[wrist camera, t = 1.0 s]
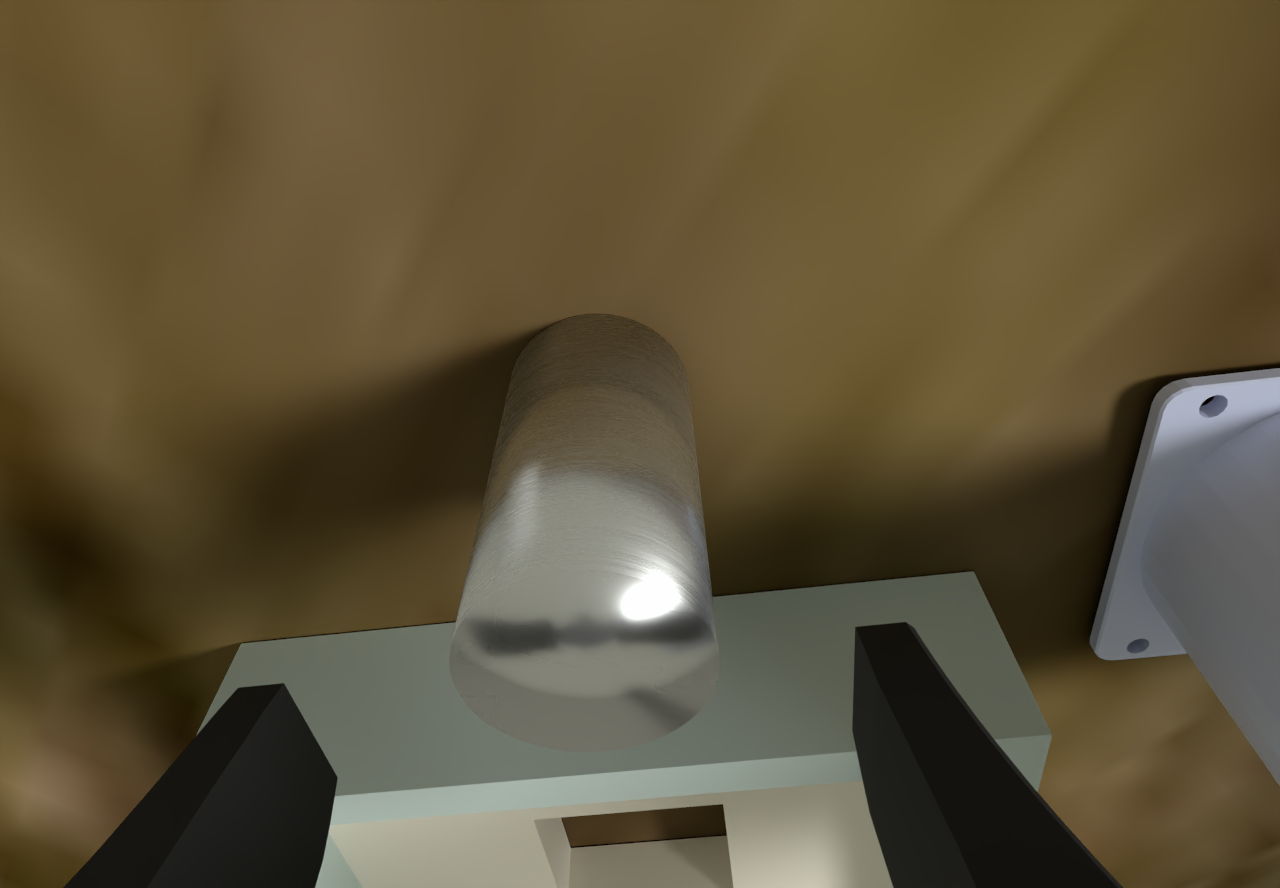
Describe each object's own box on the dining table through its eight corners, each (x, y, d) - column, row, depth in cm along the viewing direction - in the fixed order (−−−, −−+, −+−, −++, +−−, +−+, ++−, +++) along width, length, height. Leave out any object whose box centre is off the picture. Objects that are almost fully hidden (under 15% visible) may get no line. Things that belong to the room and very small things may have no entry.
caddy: (973, 570, 20) (1052, 734, 16) (927, 907, 29) (970, 1060, 25) (241, 643, 21) (158, 811, 17) (418, 944, 30) (389, 1096, 26)
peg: (679, 302, 16) (708, 558, 10) (696, 456, 18) (727, 740, 12) (491, 325, 16) (416, 587, 10) (529, 474, 18) (484, 762, 12)
